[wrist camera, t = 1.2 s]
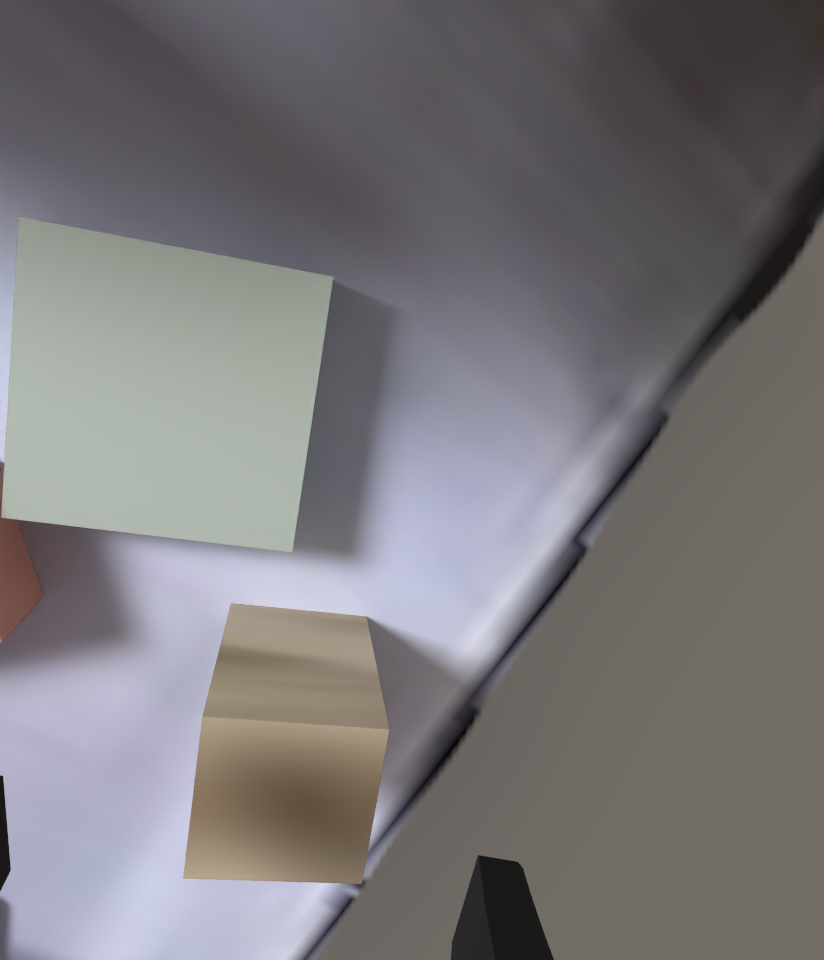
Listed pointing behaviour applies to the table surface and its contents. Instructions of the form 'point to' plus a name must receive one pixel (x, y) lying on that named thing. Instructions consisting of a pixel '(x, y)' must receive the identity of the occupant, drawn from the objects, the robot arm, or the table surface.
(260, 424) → the base block
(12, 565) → the block
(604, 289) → the table surface
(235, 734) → the beech block
